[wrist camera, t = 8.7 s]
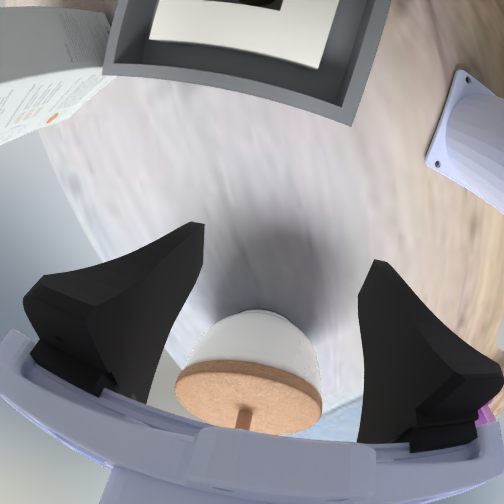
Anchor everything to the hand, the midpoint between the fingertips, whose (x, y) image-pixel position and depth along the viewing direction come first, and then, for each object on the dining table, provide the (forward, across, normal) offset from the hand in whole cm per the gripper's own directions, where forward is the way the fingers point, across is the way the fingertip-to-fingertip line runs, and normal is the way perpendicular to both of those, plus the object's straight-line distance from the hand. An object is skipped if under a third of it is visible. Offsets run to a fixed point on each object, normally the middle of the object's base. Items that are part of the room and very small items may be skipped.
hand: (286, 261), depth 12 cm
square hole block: (+9, +4, -14) cm, 17 cm away
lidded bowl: (+10, 0, +16) cm, 19 cm away
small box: (+10, +18, -8) cm, 22 cm away
